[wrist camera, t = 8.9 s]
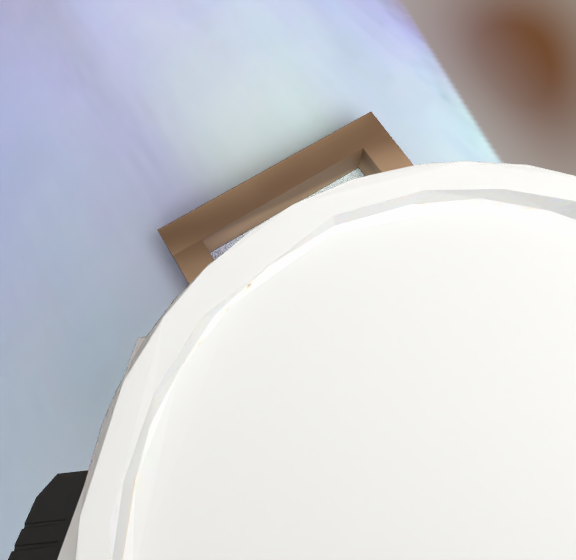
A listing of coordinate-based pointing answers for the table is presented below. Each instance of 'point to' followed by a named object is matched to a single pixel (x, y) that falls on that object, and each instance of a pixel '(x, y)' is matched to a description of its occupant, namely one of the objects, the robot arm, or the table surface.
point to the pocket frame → (280, 190)
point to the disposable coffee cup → (359, 384)
